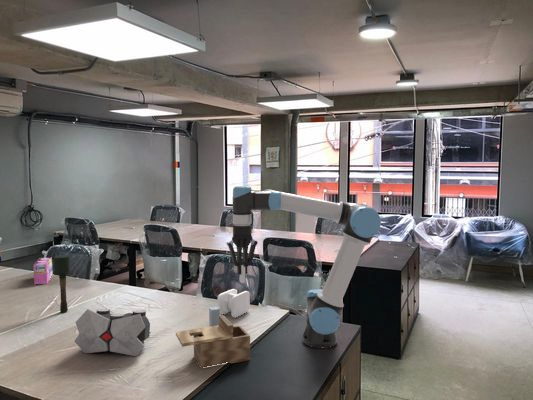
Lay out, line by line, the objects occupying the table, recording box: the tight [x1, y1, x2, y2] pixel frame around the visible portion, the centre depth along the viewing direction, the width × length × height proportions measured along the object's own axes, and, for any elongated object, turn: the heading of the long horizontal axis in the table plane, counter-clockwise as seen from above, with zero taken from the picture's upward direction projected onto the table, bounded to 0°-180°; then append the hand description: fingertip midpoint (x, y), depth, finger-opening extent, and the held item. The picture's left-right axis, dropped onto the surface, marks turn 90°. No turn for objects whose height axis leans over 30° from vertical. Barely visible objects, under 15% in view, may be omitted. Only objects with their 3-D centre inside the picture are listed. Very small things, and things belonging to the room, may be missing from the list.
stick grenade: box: [53, 254, 72, 314], centre depth 223 cm, size 8×9×30 cm
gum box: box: [32, 256, 54, 286], centre depth 286 cm, size 24×8×14 cm, turn 18°
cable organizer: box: [217, 288, 251, 319], centre depth 221 cm, size 15×11×12 cm
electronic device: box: [74, 308, 151, 357], centre depth 178 cm, size 18×21×30 cm
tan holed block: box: [175, 314, 234, 347], centre depth 167 cm, size 20×12×5 cm, turn 113°
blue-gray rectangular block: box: [208, 306, 221, 327], centre depth 184 cm, size 4×4×16 cm
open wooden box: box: [193, 324, 251, 369], centre depth 170 cm, size 20×12×10 cm, turn 113°
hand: (242, 281), depth 172 cm, fingers closed
